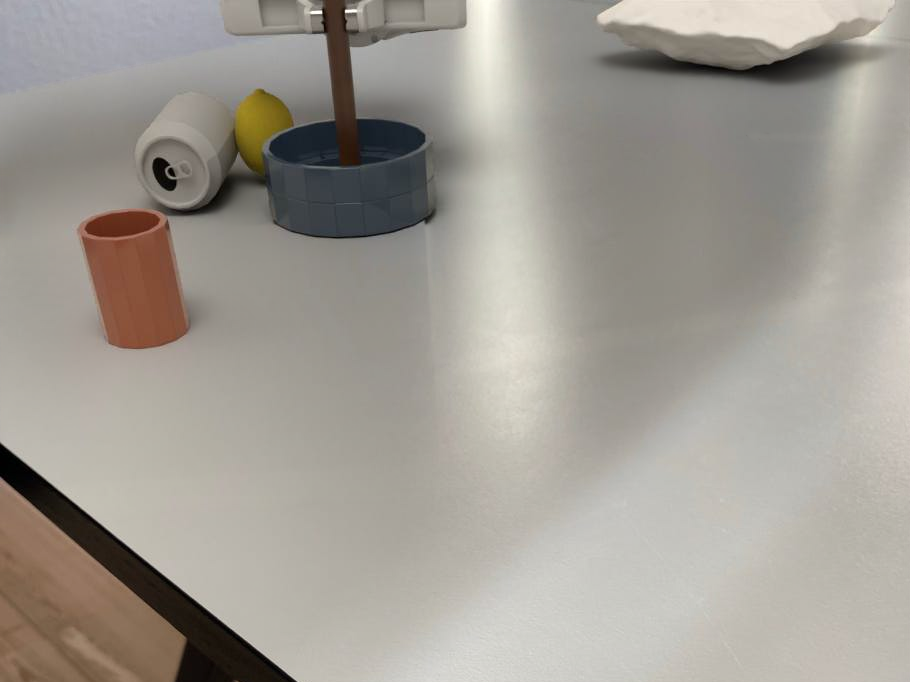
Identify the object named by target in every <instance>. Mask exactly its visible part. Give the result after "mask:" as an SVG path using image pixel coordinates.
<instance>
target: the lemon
mask: <svg viewBox="0 0 910 682" xmlns="http://www.w3.org/2000/svg"><path fill="white" fill-rule="evenodd" d="M234 118H235V140H236V145H237V148H238V151H239V153H238V155H239V156H240V158H241V160H242V162H243V163H244V164H245V165H246V166H247V167H248V168H249V170H251V171H252V172H254V173H255V174H258V175H261V176H263V177H264V178H265V179H266V177H265V171H264V164H263V157H262V151H261V150H262V147H263V144H264V141H266V140H267V139H268V138H270V137H271V136H272V135H274V134H276V133H278V132H281V131H283V130H286V129H288V128H290V127H293V126H295V123H294V119H293V117H292V115H291V111H290V110H289V108H288V107H287V105H286V104H285V102H284V101H282V100H281V98H279V97H277V96H276V95H275V94H272V93H269V92H266V91H265V89H263V88H256V89H255V90H254V91H253V93H251V94H249V95H248V96H247V97H246V98H244V99H243V100H242V101H241V102H240V104H239V105H238V107H237V110H236V113H235V117H234Z"/></svg>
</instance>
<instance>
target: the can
mask: <svg viewBox="0 0 910 682" xmlns="http://www.w3.org/2000/svg"><path fill="white" fill-rule="evenodd" d="M235 118H236V117H234V115H233V113H232V112H231V110H230V109H229V108H228V107H227V106H226V105H225V104H224V103H223V102H222V101H221V100H220V99H218V98H216V97H214V96H212V95H211V94H209V93H205V92H200V91H188V92H182V93H180V94H178V95H176V96H174V97H173V98H171V99H170V100H169V101H168V103H167V104H166V105H165V106H164V108H163V109H162V110H161V111H160V112H159V114H158V115H157V116H156V117H155V118H154V120H153V121H152V122H151V123H150V124H149V126H148V127H147V128H146V130H144V132H143V133H142V134H141V135H140V137H139V138H138V139H137V142H136V145H135V147H134V148H135V149H134V152H133V155H134V157H133V159H134V168H135V171H136V175H137V178H138V180H139V182H140V183H141V185H142V187H143V188H144V190H145V191H146V193H147V194H148V195H149V196H150V197H151V198H152V199H154V201H156V202H157V203H159V204H161V205H163V206H165V207H167V208H169V209H171V210H177V211H183V212H186V211H193V210H199V209H201V208H202V207H204V206H206V205H208V204H209V203H210V202H211V201H212V200H213V198H215V197H216V195H217V193H218V192H219V190H220V188H221V187H222V185H223V183H224V181H225V179H226V178H227V177H228V175H229V173H230V171H231V169H232V168H233V165H234V164H235V162H236V160H237V158H238V155H239V151H238V148H237V145H236V140H235Z"/></svg>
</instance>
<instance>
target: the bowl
mask: <svg viewBox="0 0 910 682" xmlns="http://www.w3.org/2000/svg"><path fill="white" fill-rule="evenodd" d="M357 127H358V137H359V147H360V158H361V165H358V166H340V162H339V153H338V143H337V134H336V125H335V118H329V119H321V120H316V121H315V120H314V121H310V122H307V123H302V124H297V125H294V126H293V127H290V128H288V129H286V130H283V131H281V132H278V133H276V134H274V135H272V136H271V137H270V138H268V139H267V140H266V141H264V144H263V147H262V150H261V151H262V157H263V164H264V171H265V177H266V178H265V177H264V178H265V183H266V191H267V196H268V204H269V209H270V216H271V218H272V219H273V220H274V221H275V223H276V224H277V225H279V226H281V227H283V228H284V229H287V230H289V231H291V232H296V233H301V234H304V235H310V236H313V237H314V236H316V237H329V238H330V237H332V238H343V237H363V236H371V235H372V236H373V235H377V234H382V233H383V234H384V233H389V232H390V233H391V232H393V231H396V230H399V229H403V228H406V227H410V226H412V225H416V224H417V223H418V222H420V221H422V220H424V219H426V218H427V217H429V216H430V215H431V214H432V213H433V212H434V211H435V209H436V207H437V198H436V197H437V195H436V194H437V193H436V176H435V160H434V159H435V157H434V140H433V139H434V138H433V134H432V132H430V131H429V130H428V129H427V128H426V127H424V126H422V125H419V124H416V123H413V122H411V121H409V120H408V121H407V120H401V119H395V118H389V117H372V116H357Z"/></svg>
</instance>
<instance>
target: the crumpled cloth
mask: <svg viewBox="0 0 910 682" xmlns="http://www.w3.org/2000/svg"><path fill="white" fill-rule="evenodd" d="M896 2H897V0H621V1H619V2H618V3H617V4H615V5H613V6H612V7H610V8H607V9H606V10H604V11H602V12H600V13H599V14H597V17H596V24H597V26H598V27H599V29H600V30H601V31H602V32H604V33H607V34H613V35H616V36H618V37H619V39H620V42H621V43H622V44H623V45H626V46H629V47H635V48H638V49H639V50H644V51H655V52H658V53H661V54H664V55H665V56H667V57H669V58H671V59H673V60H675V61H679V62H688V63H693V64H696V65H703V66H704V65H705V66H710V67H713V68H714V67H715V68H723V69H726V70H733V71H745V70H749V69H752V68H754V67H755V66H761V65H771V64H773V63H774V62H777V61H784V60H786V59H789V58H793V57H794V56H799V55H800V54H802V53H804V52H807V51H810V50H813V49H817V48H818V47H820V46H825V45H828V44H829V45H830V44H833V43H840V42H843V41H848V40H853V39H856V38H860V37H861V38H862V37H865V36H868V35H869V34H870V33H872V32H874V30H875V29H877V28H878V27H879V26H880V25H882V24H883V23H884V22H885V21H886V20H887V18H888V16H889V13H891V12H892V10H893V9H894V7H895V4H896Z"/></svg>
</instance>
